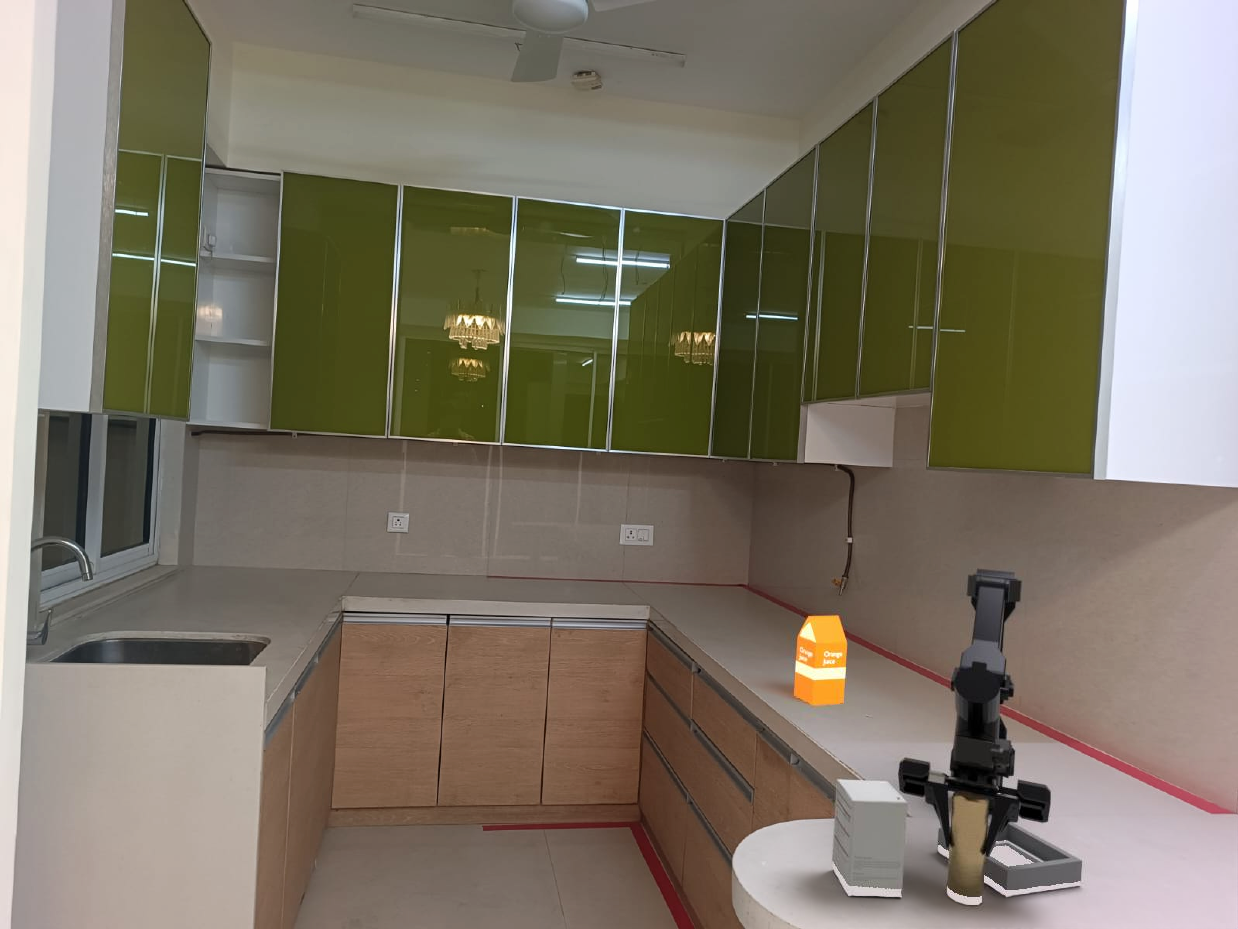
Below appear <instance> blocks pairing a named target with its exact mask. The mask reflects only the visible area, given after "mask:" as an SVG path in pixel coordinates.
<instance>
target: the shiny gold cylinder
mask: <svg viewBox="0 0 1238 929" xmlns="http://www.w3.org/2000/svg"><path fill="white" fill-rule="evenodd" d="M952 796H953V797H952ZM952 796H951V798H952V799H951V800H952V801H951V803H952V804H951V812H950V813H951V814H950V844H949V858H948V859H947V860H948V862H947V874H946V876H947V877H946V887H947V886H948V888H949V889H950V890H952V891H953V892H954V893H957V894H959V895H963V896H967V897H980V896H982V895H983V896H984V888H985V887H984V886H985V885H984V884H985V883H984V872H985V857H986V856H985V855H986V841H987V827H988V822H989V813H988V812H989V800H988V799H987V798H986V797H984V796H982V795H979V794H976V793H973V792H967V791H957V792H953V793H952Z"/></svg>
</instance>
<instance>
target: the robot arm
mask: <svg viewBox="0 0 1238 929" xmlns="http://www.w3.org/2000/svg"><path fill="white" fill-rule="evenodd" d="M966 583H967V585H966V596H968V597H970V598H971V599H970V603H971V605H972V607H973V609H974V613H975V615H974V621H973V629H972V630H973V632H972V638H971V645H970V646H968V647H967V648H965V650H963V651H962V652H961V655H960V660H959V661H960V663H959V666H955V667H954V669H953V674H952V676H951V680H950V691H951V692H954V702H955V703H954V707H955V711H956V715H955V716H956V717H955V718H956V719H955V728H954V735H953V745H952V746H953V747H952V749H951V752H950V760H949V761H950V762H949V771H950V775H948V774H947V773H945V772H941V771H936V770H931V762H930V761H926V760H921V759H916V758H910V757H904V758H902V759H901V760H900V761H899V764H898V773H897V774H898V776H897V777H898V787H899V791H900V792H901V793H903V794H905V795H910V796H915V797H919V798H924V800H925V801H924V802H925V803H926V804H928V805H931V806H933V809H934V811H935V814H936V816H937V817H936V818H937V819H938V822H939V824H940V828H941V830H942V834H943V838H944V842H945V846H946V848H949V844H950V827H951V822H950V808H949V807H950V806H949V802H950V801H949V792H953V793H954V792H957V791H967V792H973V793H976V794H979V795H982V796H984V797H986V798H987V799H988V800H989V812H988V814H991V818H990V827H989V832H988V836H987V841H986V855H985V856H986V857H989V856H990V854H991V852H992V850H993V848H994V846H995V844H996V841H997V839H998V838H999V836H1000V834H1001V833H1002V831H1003V830H1004V829H1005V827H1006V826H1007V825H1008V823H1009V822H1013V823H1014V824H1016V823H1018V822H1019V817H1020V818H1021V819H1023V820H1028V821H1032V822H1037V823H1041V824H1044V823H1048V822H1049V817H1050V811H1051V802H1052V800H1051V798H1052V796H1051V795H1052V790H1051V789H1050V787H1048V785H1047V784H1043V783H1038V782H1032V781H1027V780H1022V779H1017V785H1016V788H1011V787H1006V786H1003V785H1004V784H1003V782H1004V778H1006V779H1009V778H1010V777H1014V775H1015V760H1016V750H1015V749H1014V748H1013V744H1012V740H1009V739H1008V728H1007V726H1006V724H1005V722H1004V720H1003V718H1002V716H1001V714H1000V713H1001V712H1000V710H1001V709H1000V706H1002V705H1004V702H1005V701H1009V700H1010V698H1014V695H1015V683H1014V681H1013V678H1012V677H1011V675H1010V674H1007V657H1006V656H1004V654H1003V653H1004V641H1005V629H1006V623H1008V621H1009V620H1010V619H1011V617H1012V616H1014V613H1015V612H1016V610H1017V603H1021V601H1022V594H1023V592H1022V590H1023V579H1018V578H1017V577H1016V572H1013V571H1004V570H994V569H985V568H984V569H983V568H977V569H976V573H974V574H972V573H970V574H967V582H966ZM952 797H953V795H952V796H951V800H952Z"/></svg>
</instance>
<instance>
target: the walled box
mask: <svg viewBox="0 0 1238 929" xmlns="http://www.w3.org/2000/svg"><path fill="white" fill-rule="evenodd" d="M990 822H991V821H990ZM990 822H989V821H988V827H987V836H988V832H989V827H990ZM937 830H938V831H937V832H938V833H937V846H938V845H941V846H942V847H943V848H944V849H946V850H948V851H949V848H946V846H945V842H944V838H943V834H942V830H941V827H939V828H938V829H937ZM1004 840H1006V841H1004ZM997 841H998V842H996V844H995V846H994V847H996V846H1005V845H1006V846H1009V847H1010V848H1011V849H1013V850H1015V851H1016V852H1018V853H1019V854H1020V855H1023V856H1024V857H1025V858H1026V859H1029V860H1031V861H1032V862H1034V863H1031V864H1024V865H1016V866H1009V867H1008V866H1006V865H1004V864H1003V863H1001V862H999V861H998V860H996V859H995V858H993V857H991V856H989V857H985V872H984V875H985V876H987V877H989V878H990V879H992V880H993V881H994V882H995V883H997V884H999V885H1000V886H1002V887H1003V888H1004V889H1005V890H1019V889H1027V888H1032V887H1038V886H1051V885H1056V884H1063V883H1074V882H1078V881H1081V882H1082V871H1083V860H1082V859H1080V858H1079V857H1077V856H1075V855H1073V854H1071V853H1069V852H1068V851H1065V850H1063V849H1062V848H1060V847H1058V846H1056V845H1054V844H1052V843H1051V842H1049V841H1047V840H1045V839H1044V838H1041V837H1040V836H1038V835H1036V834H1034V833H1033V832H1031V831H1029V830H1027V829H1025V828H1024V827H1022V826H1020V825H1018V824H1016V823H1015V822H1009V823H1008V825H1007V826H1006V827H1005V829H1004V830H1003V831H1002V833H1001V834H1000V836H999V838H998V839H997Z"/></svg>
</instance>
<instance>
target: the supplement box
mask: <svg viewBox="0 0 1238 929" xmlns="http://www.w3.org/2000/svg"><path fill="white" fill-rule="evenodd" d="M907 816H908V802H907V801H906V799H904V797H903V796H902V795H901V794H900V793H899V792H898V791H897V790H896V789H895V788H894V787H893V786H892V785H891V784H890V782H888V781H887V780H865V779H863V780H862V779H861V780H859V779H841V778H840V779H836V786H835V804H834V823H833V824H834V825H833V839H832V853H831V854H832V856H831V857H832V858H831V862H832V861H833V862H834V864H835V866H836V867H837V869H838V871H839V872H840V874H841V875H842V876H843V878H844V879H845V881H846V883H847V884H848V885H849V886H858V887H860V886H861V887H869V888H870V887H873V888H877V887H878V888H885V889H887V888H888V889H889V888H890V889H902V890H903V884H904V882H903V881H904V866H905V852H906V851H905V848H906V834H907V833H906V832H907V819H908V818H907Z"/></svg>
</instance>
